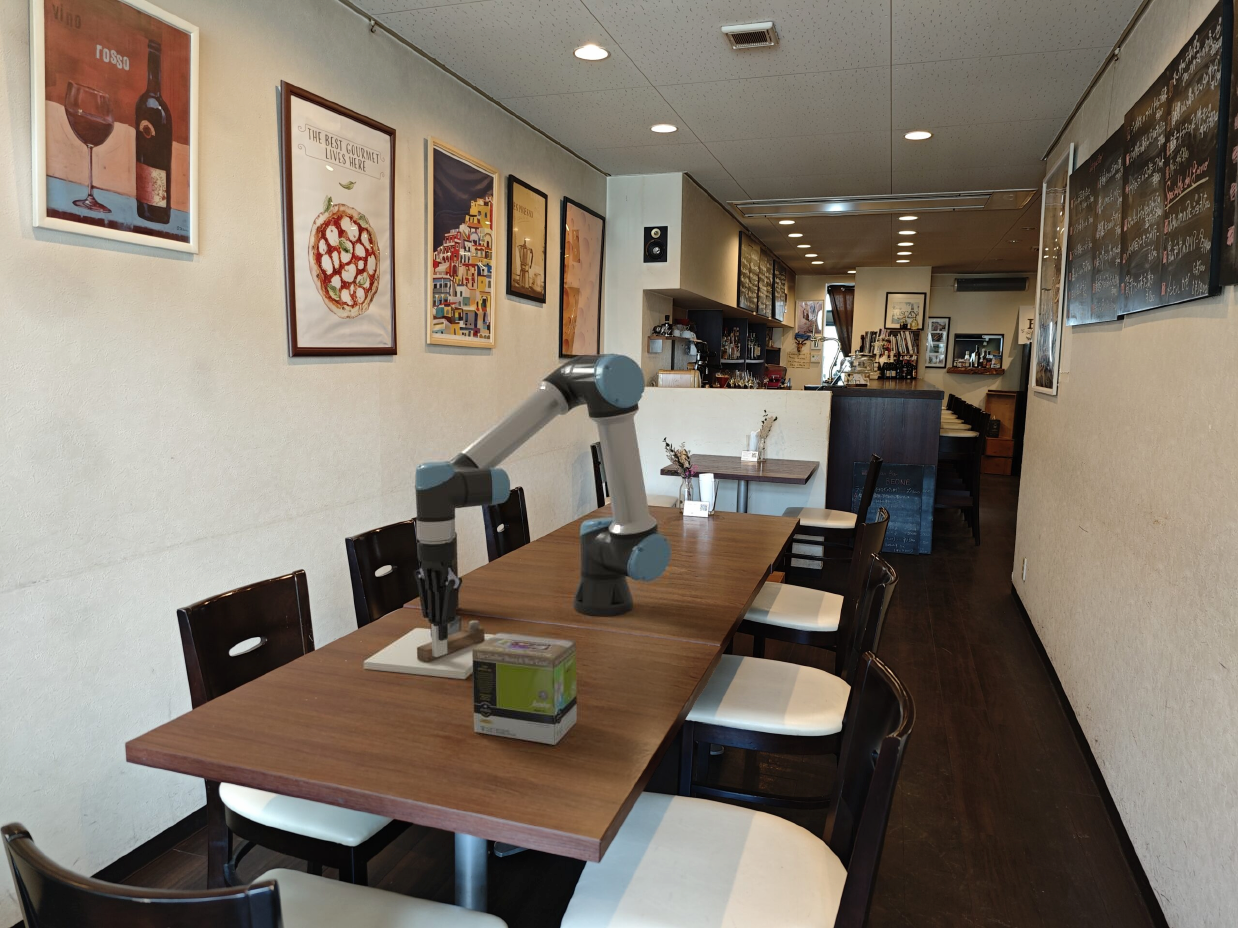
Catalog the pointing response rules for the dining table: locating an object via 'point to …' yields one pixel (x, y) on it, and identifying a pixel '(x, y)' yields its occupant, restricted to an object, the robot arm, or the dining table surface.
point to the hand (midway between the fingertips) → (439, 654)
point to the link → (454, 641)
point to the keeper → (454, 626)
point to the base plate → (405, 660)
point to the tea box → (525, 687)
